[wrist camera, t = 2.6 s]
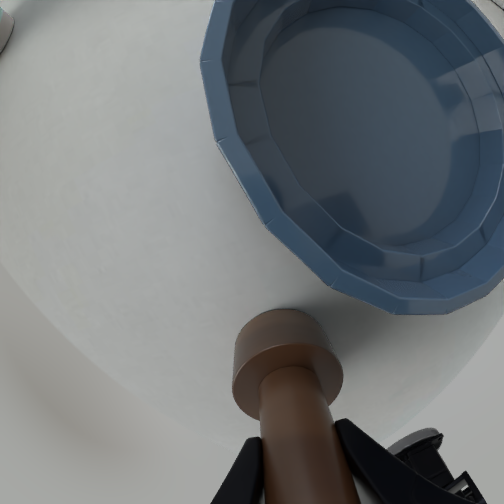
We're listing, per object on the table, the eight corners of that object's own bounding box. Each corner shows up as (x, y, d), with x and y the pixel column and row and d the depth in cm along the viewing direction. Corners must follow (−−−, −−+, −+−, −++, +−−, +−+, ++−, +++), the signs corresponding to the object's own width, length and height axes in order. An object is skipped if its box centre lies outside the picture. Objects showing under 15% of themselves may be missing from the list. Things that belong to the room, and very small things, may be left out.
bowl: (497, 242, 12) (548, 259, 7) (259, 308, 12) (265, 368, 8) (442, 15, 8) (479, -12, 4) (195, 4, 9) (178, -54, 4)
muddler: (328, 373, 13) (394, 542, 3) (245, 390, 13) (246, 572, 3) (320, 299, 12) (439, 496, 2) (224, 318, 12) (192, 547, 2)
